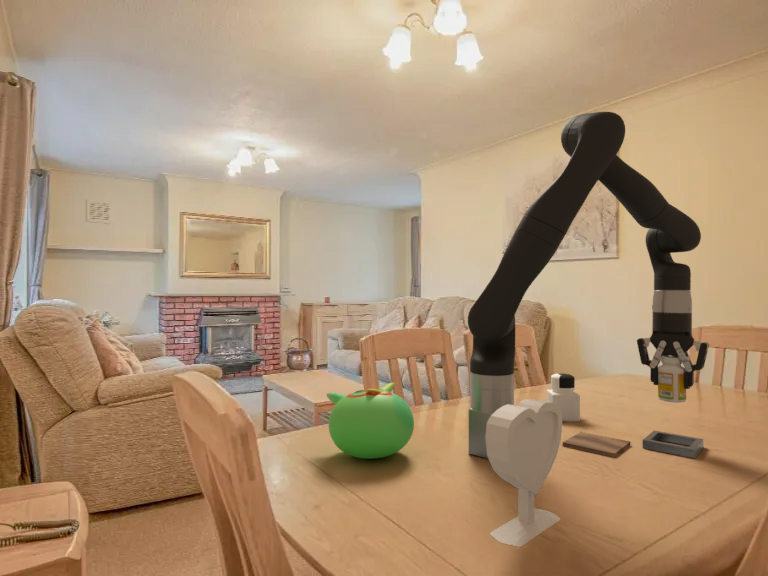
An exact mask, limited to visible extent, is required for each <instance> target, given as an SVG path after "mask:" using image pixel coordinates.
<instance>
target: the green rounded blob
mask: <svg viewBox="0 0 768 576" xmlns="http://www.w3.org/2000/svg"><path fill="white" fill-rule="evenodd" d="M395 385H396V383H395V382H389V383H387V384H384V385H382V386H381V387H379V388H367V389H359V390H356V391H354V392H351V393H349V394H347V395H346V394H341V393H338V392H337V393H336V392H328V393H326V397H327V399H329V401H330V402H332V404H334V407H333V408H332V410H331V412H330V414H329V417H328V418H329V419H328V432H329V434H330V437H331V440H332V442H333V444H334V445H335V446H336V447H337V448H338V449H339V450H340V451H341V452H343V453H344V454H346V455H349V456H352V457H354V458H358V459H364V460H365V459H369V460H371V459H372V460H373V459H381V458H386V457H388V456H391V455H393V454H396V453H397V452H399V451H401V450H402V449H403V448H405V447H406V446H407V444H408V443H409V441H410V440H411V438H412V436H413V433H414V428H415V419H414V418H415V417H414V414H413V412H412V409H411V407H410V405H409V404H408V403H407V402H406V400H405V399H404V398H402V397H401V396H400V395H397V394H396V393H393V392H392V390H394V387H395Z"/></svg>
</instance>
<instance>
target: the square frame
mask: <svg viewBox="0 0 768 576" xmlns="http://www.w3.org/2000/svg"><path fill="white" fill-rule="evenodd" d="M703 448H704V438H699V437H693V436H688V435H681V434H676V433H669V432H666V431H665V432H664V431H658V430H653V431H651V433H649V434H648V435H646V437H644V438H642V449H645V450H650V451H656V452H660V453H664V454H670V455H675V456H681V457H684V458H685V457H686V458H691V459H696V458H697V456H698V455H699V454H700V452H701V451H702V450H703Z"/></svg>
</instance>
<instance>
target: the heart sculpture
mask: <svg viewBox="0 0 768 576" xmlns="http://www.w3.org/2000/svg"><path fill="white" fill-rule="evenodd" d="M562 428H563V421H562V413H561V409H560V407H559V406H558V405H556V404H554V403H549V402H547V401H543V400H538V399H533V398H526V399H525V398H524V399H522V400H521V401H520V402H519V403H518V405H515V404H514V405H509V404H507V405H504V406H502V407H501V408H499V409H498V410H496V411H495V412H494V413H493V414H492V415H491V416H490V418H489V420H488V422H487V426H486V437H485V439H486V448H487V456H488V461H489V463H490V465H491V468H492V470H493V471H494V473H496V475H498V477H500V478H501V479H502V480H503V481H505V482H507V483H509V484H511V486H512V487H515V488H516V489H517V512H518V513H517V516H515V517H514V518H512V519H510V520H508V521H507V522H505V523H503V524H502V525H500V526H499V527H497V528H494V530H492V531H490V532H489V535H491V537H492V538H494V540H496V541H497V542H499V543H502V544H504V545H509V546H514V547H523V546H524V545H525V544H527V543H528V542H530V541H531V540H532V539H534V538H535V537H537V536H538V535H540V534H541V533H543V532H544V531H546V530H547V529H549V528H551V527H552V526H553V525H554V524H556V523H557V522H559V521H560V520H561V518H560V517H559V515H557V514H555V513H553V512H551V511H549V510H546V509H540V508H535V495H536V496H537V495H538V493H539V492H540V490H541V488H542V485H544V483H545V481H546V479H547V478H548V475H549V474H550V472H551V470H552V467H553V466H554V464H555V461H556V459H557V455H558V454H559V453H558V452H559V448H560V445H561V440H562V432H563V431H562V430H563V429H562Z"/></svg>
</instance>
